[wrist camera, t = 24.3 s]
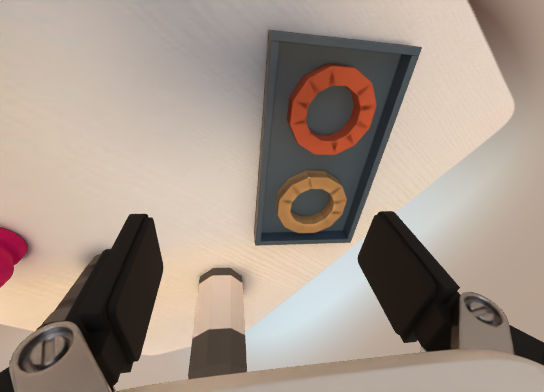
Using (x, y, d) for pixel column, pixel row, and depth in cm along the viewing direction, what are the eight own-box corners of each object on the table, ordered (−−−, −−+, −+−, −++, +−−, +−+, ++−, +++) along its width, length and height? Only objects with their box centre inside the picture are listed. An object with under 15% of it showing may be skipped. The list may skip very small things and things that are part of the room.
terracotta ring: (293, 61, 27) (297, 63, 25) (378, 67, 28) (387, 70, 27) (283, 147, 32) (286, 154, 31) (355, 149, 34) (361, 155, 32)
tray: (268, 29, 25) (272, 30, 23) (407, 45, 28) (422, 47, 26) (253, 234, 41) (255, 245, 39) (344, 231, 43) (350, 242, 41)
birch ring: (279, 169, 34) (282, 177, 32) (348, 170, 36) (353, 177, 34) (273, 225, 39) (275, 234, 38) (332, 224, 41) (336, 232, 39)
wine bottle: (248, 288, 48) (268, 561, 24) (208, 299, 49) (186, 581, 24) (235, 262, 44) (242, 567, 19) (190, 274, 44) (141, 592, 19)
